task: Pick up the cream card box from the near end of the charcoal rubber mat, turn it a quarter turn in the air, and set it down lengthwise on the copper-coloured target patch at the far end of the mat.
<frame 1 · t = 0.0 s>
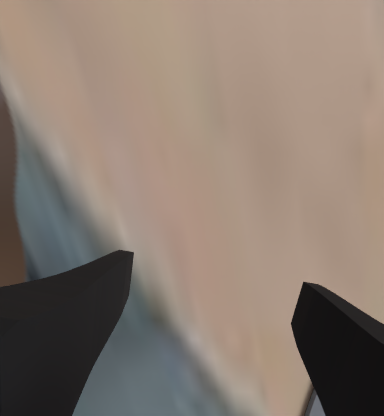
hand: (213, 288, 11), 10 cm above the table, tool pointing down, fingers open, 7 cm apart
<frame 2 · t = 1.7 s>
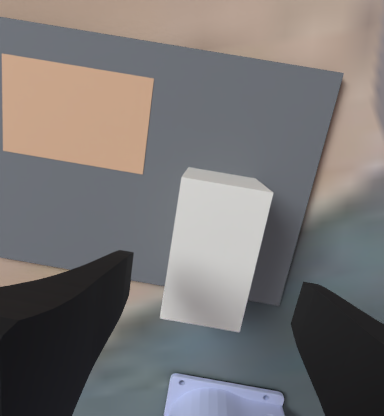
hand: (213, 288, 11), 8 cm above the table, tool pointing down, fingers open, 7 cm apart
mat: (147, 173, 19), on the table
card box: (211, 229, 19), point 1 cm above the table, touching mat
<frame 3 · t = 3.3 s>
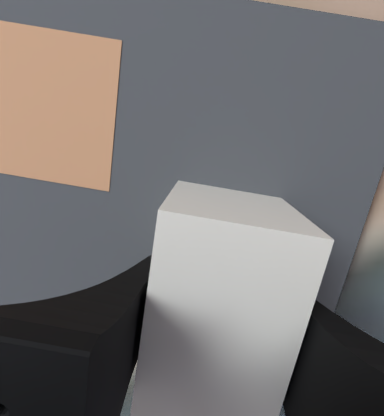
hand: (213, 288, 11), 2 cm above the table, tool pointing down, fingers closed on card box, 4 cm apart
mat: (117, 189, 13), on the table
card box: (213, 272, 13), point 1 cm above the table, touching gripper, mat
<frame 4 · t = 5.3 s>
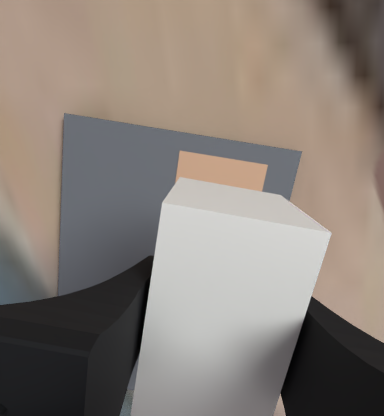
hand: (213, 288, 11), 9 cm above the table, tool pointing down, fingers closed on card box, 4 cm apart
mat: (162, 275, 21), on the table
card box: (212, 267, 13), point 7 cm above the table, touching gripper
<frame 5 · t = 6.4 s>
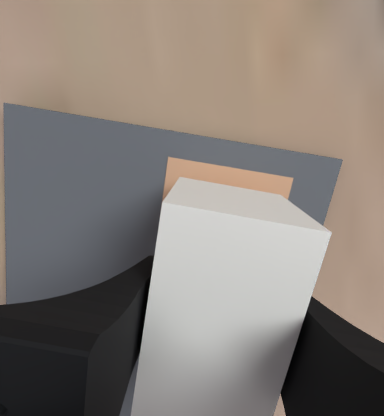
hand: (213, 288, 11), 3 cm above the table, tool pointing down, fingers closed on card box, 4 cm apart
mat: (146, 323, 16), on the table
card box: (213, 267, 13), point 2 cm above the table, touching gripper
when the fingers open (3 cm above the table, at t = 7.2 s): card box drops 1 cm, resting on mat.
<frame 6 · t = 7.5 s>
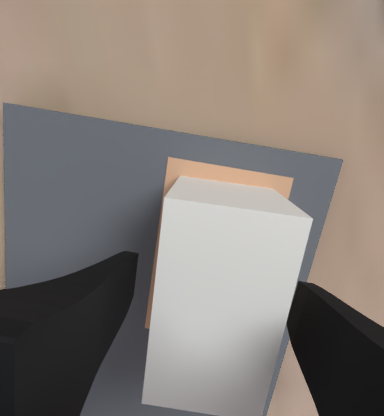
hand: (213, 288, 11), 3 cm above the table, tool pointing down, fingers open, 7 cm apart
mat: (146, 323, 16), on the table
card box: (213, 258, 14), point 1 cm above the table, touching mat
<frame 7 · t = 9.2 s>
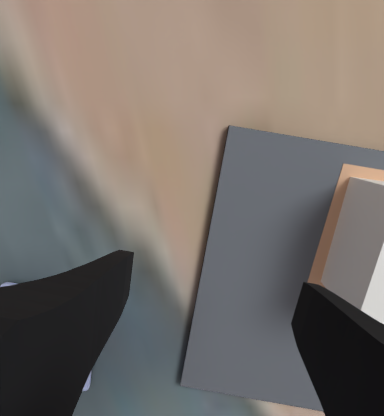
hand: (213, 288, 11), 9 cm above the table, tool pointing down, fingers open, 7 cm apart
mat: (302, 286, 21), on the table
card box: (366, 236, 19), point 1 cm above the table, touching mat
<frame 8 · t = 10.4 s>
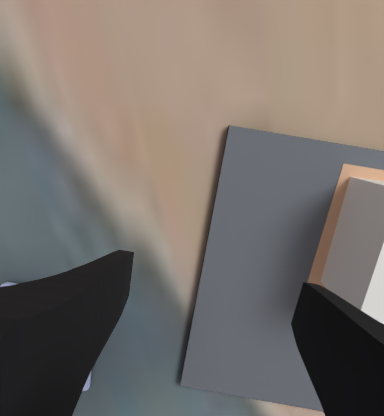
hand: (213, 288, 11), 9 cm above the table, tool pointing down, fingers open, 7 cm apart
mat: (302, 286, 21), on the table
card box: (366, 236, 19), point 1 cm above the table, touching mat
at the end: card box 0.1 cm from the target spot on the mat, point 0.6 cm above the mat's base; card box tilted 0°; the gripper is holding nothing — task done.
